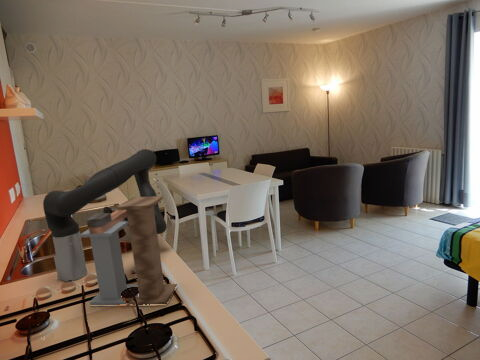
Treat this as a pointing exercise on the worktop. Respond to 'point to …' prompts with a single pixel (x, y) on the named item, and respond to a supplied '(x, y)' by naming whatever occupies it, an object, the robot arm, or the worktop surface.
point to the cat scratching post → (146, 251)
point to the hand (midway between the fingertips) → (116, 209)
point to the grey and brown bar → (104, 221)
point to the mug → (98, 200)
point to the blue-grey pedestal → (108, 266)
